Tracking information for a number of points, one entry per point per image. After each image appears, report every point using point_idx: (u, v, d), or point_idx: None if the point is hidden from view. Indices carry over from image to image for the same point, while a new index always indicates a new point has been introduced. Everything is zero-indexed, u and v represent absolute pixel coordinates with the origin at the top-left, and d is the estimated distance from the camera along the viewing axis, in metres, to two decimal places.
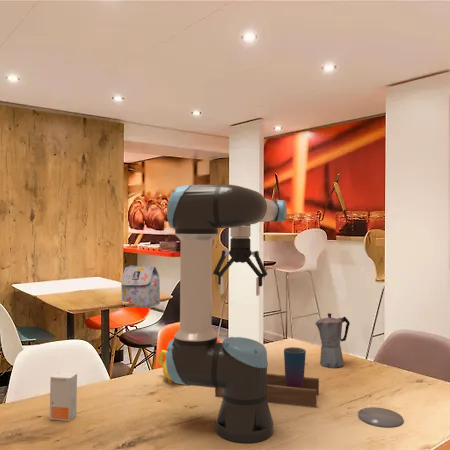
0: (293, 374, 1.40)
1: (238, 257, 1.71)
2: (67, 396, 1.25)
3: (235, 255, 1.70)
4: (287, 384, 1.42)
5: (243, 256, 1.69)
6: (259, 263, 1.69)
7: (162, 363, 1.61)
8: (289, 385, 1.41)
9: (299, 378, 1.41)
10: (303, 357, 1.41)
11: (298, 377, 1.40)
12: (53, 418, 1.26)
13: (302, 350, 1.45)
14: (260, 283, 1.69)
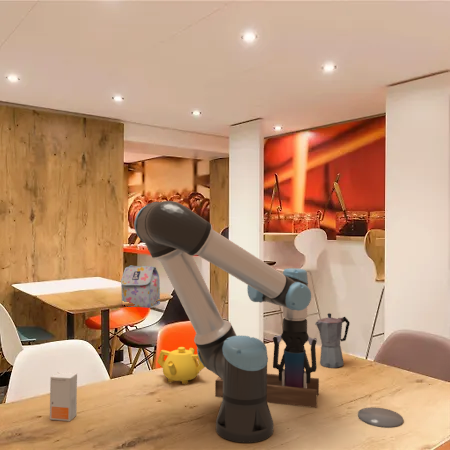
0: (293, 374, 1.40)
1: (293, 342, 1.42)
2: (67, 396, 1.25)
3: (289, 340, 1.42)
4: (287, 384, 1.42)
5: (298, 342, 1.41)
6: (313, 355, 1.41)
7: (162, 363, 1.61)
8: (289, 385, 1.41)
9: (299, 378, 1.41)
10: (303, 357, 1.41)
11: (298, 377, 1.40)
12: (53, 418, 1.26)
13: None
14: (308, 379, 1.41)
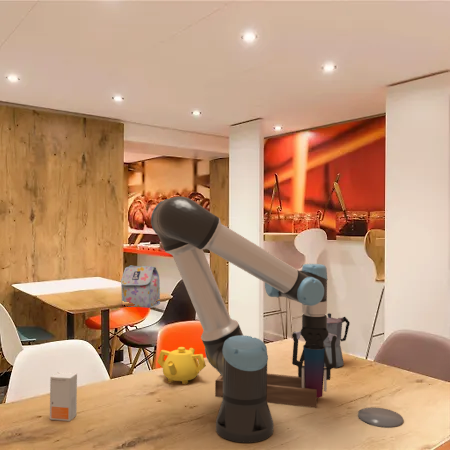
0: (313, 371, 1.39)
1: (312, 338, 1.41)
2: (67, 396, 1.25)
3: (309, 336, 1.40)
4: (307, 381, 1.40)
5: (318, 338, 1.39)
6: (333, 351, 1.39)
7: (162, 363, 1.61)
8: (309, 382, 1.40)
9: (319, 375, 1.39)
10: (323, 353, 1.39)
11: (318, 373, 1.39)
12: (53, 418, 1.26)
13: None
14: (328, 376, 1.40)
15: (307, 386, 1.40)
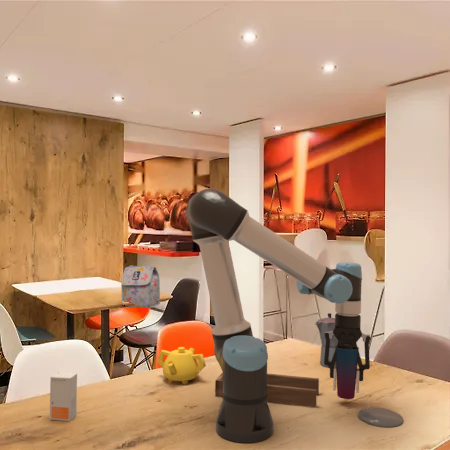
0: (346, 371, 1.36)
1: (345, 338, 1.38)
2: (67, 396, 1.25)
3: (342, 336, 1.37)
4: (339, 382, 1.38)
5: (352, 338, 1.37)
6: (367, 352, 1.36)
7: (162, 363, 1.61)
8: (341, 383, 1.37)
9: (352, 375, 1.36)
10: (356, 354, 1.37)
11: (351, 374, 1.36)
12: (53, 418, 1.26)
13: None
14: (361, 377, 1.37)
15: (339, 387, 1.38)
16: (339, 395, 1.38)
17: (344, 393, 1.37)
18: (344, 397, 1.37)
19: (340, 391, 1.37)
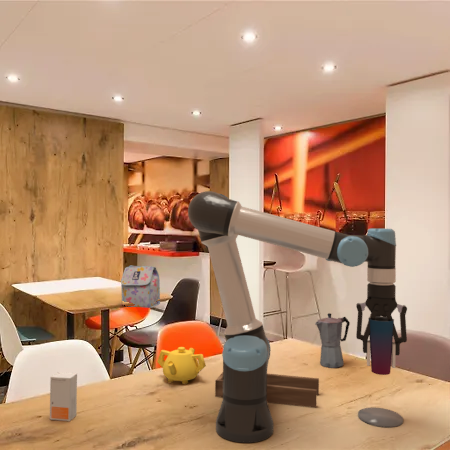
0: (381, 345, 1.26)
1: (379, 310, 1.28)
2: (67, 396, 1.25)
3: (376, 307, 1.27)
4: (374, 356, 1.28)
5: (387, 309, 1.27)
6: (403, 323, 1.26)
7: (162, 363, 1.61)
8: (376, 357, 1.27)
9: (388, 349, 1.26)
10: (392, 326, 1.27)
11: (387, 348, 1.26)
12: (53, 418, 1.26)
13: None
14: (397, 351, 1.27)
15: (374, 362, 1.28)
16: (374, 371, 1.28)
17: (379, 368, 1.27)
18: (379, 373, 1.27)
19: (375, 366, 1.27)
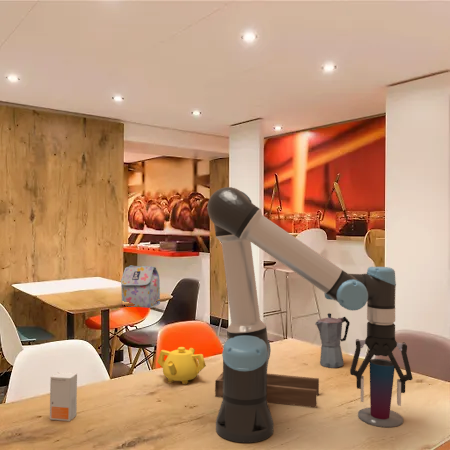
0: (381, 389, 1.26)
1: (379, 349, 1.28)
2: (67, 396, 1.25)
3: (376, 347, 1.27)
4: (373, 400, 1.28)
5: (387, 349, 1.27)
6: (406, 361, 1.26)
7: (162, 363, 1.61)
8: (376, 401, 1.27)
9: (388, 394, 1.26)
10: (393, 370, 1.27)
11: (387, 393, 1.26)
12: (53, 418, 1.26)
13: (389, 362, 1.30)
14: (403, 389, 1.27)
15: (373, 406, 1.28)
16: (373, 414, 1.28)
17: (379, 412, 1.27)
18: (379, 417, 1.27)
19: (374, 410, 1.27)
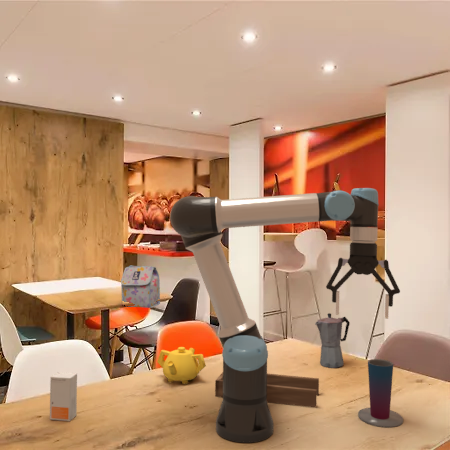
0: (380, 389, 1.26)
1: (361, 267, 1.31)
2: (67, 396, 1.25)
3: (357, 265, 1.30)
4: (373, 400, 1.28)
5: (369, 266, 1.30)
6: (390, 276, 1.29)
7: (162, 363, 1.61)
8: (375, 402, 1.27)
9: (387, 394, 1.26)
10: (391, 370, 1.27)
11: (386, 393, 1.26)
12: (53, 418, 1.26)
13: (388, 362, 1.30)
14: (391, 302, 1.29)
15: (373, 406, 1.28)
16: (373, 415, 1.28)
17: (378, 413, 1.27)
18: (379, 417, 1.27)
19: (374, 411, 1.27)
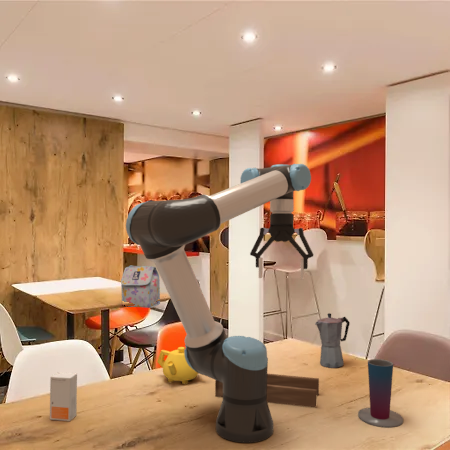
0: (380, 389, 1.26)
1: (279, 235, 1.47)
2: (67, 396, 1.25)
3: (276, 233, 1.47)
4: (373, 400, 1.28)
5: (285, 234, 1.46)
6: (304, 242, 1.45)
7: (162, 363, 1.61)
8: (375, 401, 1.27)
9: (387, 394, 1.26)
10: (391, 370, 1.27)
11: (386, 393, 1.26)
12: (53, 418, 1.26)
13: (388, 362, 1.30)
14: (305, 265, 1.46)
15: (373, 406, 1.28)
16: (373, 415, 1.28)
17: (378, 413, 1.27)
18: (379, 417, 1.27)
19: (374, 411, 1.27)
